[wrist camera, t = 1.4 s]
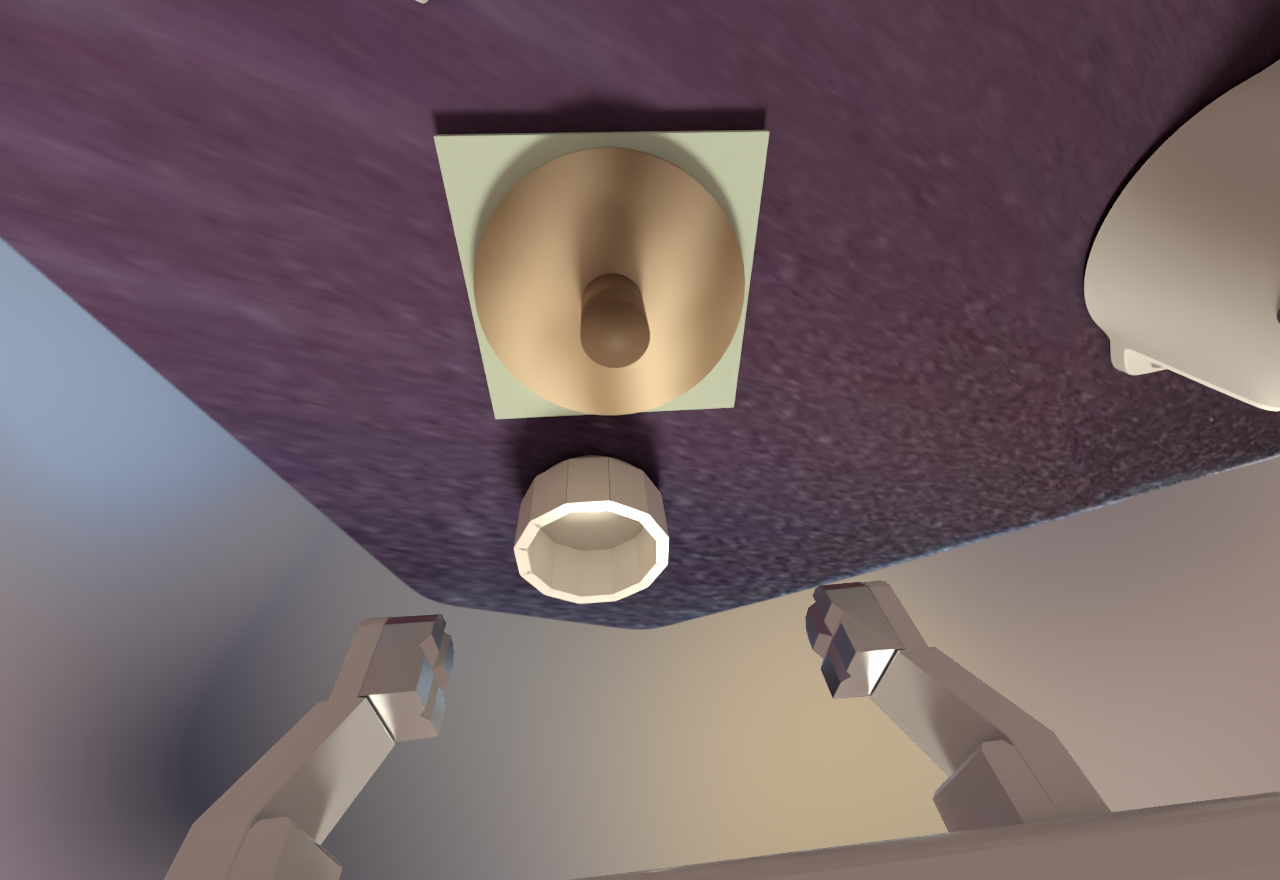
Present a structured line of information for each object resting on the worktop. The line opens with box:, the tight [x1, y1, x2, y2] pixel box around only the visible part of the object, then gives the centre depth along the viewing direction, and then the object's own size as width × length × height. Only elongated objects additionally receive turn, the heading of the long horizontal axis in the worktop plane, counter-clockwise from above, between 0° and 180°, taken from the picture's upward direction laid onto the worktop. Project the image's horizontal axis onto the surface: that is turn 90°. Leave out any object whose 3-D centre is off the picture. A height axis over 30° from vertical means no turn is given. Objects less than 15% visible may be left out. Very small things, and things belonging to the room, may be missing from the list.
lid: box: [474, 147, 745, 415], centre depth 25 cm, size 14×14×5 cm
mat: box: [434, 130, 769, 419], centre depth 27 cm, size 15×15×1 cm
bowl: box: [514, 455, 669, 604], centre depth 35 cm, size 10×10×5 cm
